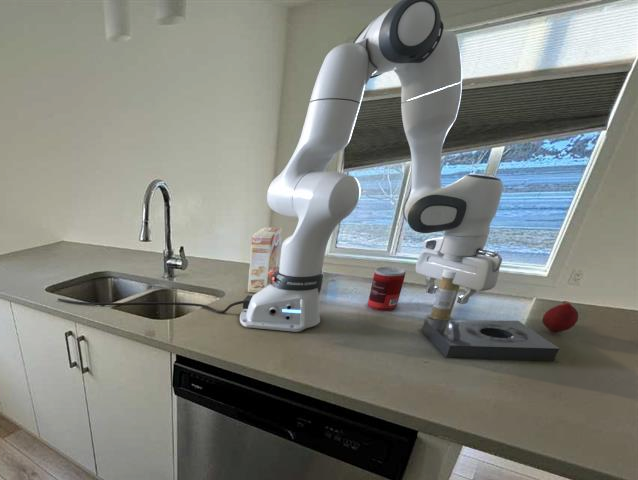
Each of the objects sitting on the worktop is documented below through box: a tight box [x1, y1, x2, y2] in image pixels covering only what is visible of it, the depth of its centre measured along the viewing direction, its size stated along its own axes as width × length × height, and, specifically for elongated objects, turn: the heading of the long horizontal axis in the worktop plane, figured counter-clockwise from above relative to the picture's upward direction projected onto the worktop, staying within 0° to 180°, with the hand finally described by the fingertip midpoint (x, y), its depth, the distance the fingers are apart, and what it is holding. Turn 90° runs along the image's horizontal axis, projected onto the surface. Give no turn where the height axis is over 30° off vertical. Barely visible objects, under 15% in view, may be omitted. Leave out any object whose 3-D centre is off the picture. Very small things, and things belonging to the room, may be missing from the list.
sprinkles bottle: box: [429, 269, 461, 320], centre depth 108 cm, size 5×5×13 cm
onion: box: [542, 300, 579, 334], centre depth 97 cm, size 6×6×8 cm
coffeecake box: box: [247, 227, 283, 294], centre depth 142 cm, size 15×7×20 cm, turn 149°
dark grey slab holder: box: [421, 319, 560, 362], centre depth 96 cm, size 20×16×3 cm
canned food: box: [367, 266, 407, 312], centre depth 119 cm, size 8×8×11 cm
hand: (445, 297), depth 109 cm, fingers open, 8 cm apart
